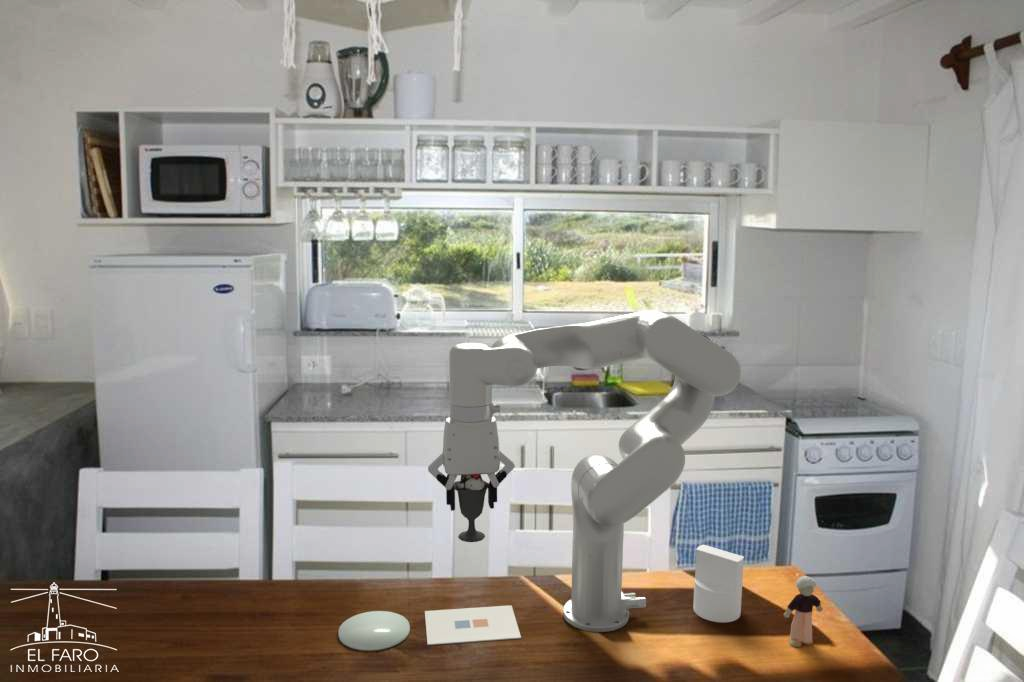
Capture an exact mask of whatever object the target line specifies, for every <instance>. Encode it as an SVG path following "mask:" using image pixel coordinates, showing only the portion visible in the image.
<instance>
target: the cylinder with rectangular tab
mask: <svg viewBox="0 0 1024 682" xmlns="http://www.w3.org/2000/svg"><path fill="white" fill-rule="evenodd" d="M695 551H696V552H695V572H694V573H695V574H694V585H693V586H694V587H693V605H692V606H693V612H694V613H695V614H696V615H697V616H699V617H700V618H701V619H704V620H707V621H709V622H713V623H731V622H735V621H737V620H738V619H739V618H741V611H742V610H741V609H742V595H743V578H744V575H743V574H744V560H745V559H744V558H745V556H743V555H740V554H737V553H733V552H730V551H726V550H723V549H720V548H717V547H714V546H710V545H707V544H701V545H698V547H696V548H695Z"/></svg>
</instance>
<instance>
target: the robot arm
mask: <svg viewBox="0 0 1024 682" xmlns="http://www.w3.org/2000/svg"><path fill="white" fill-rule="evenodd" d="M448 358H449V359H448V360H449V361H448V362H449V416H448V417H446V419H445V423H444V428H443V436H442V437H443V441H442V453H440V455H438V456H437V458H435V459H434V461H432V462H431V463H430V464H429V465H428V467H427V471H428V473H429V474H430V475H431V476H433V478H435V479H436V480H437V481H438V482H439V484H441V486H443V487H444V488H445V490H446V491H445V492H446V493H445V494H446V496H445V499H446V506H449V507H450V511H451V512H452V511H455V510H456V490H455V489H454V486H453V484H454V483H455V482H456V479H457V478H458V476H461V475H474V474H481V475H487V476H488V479H489V482H488V483H489V484H490V487H489V488H488V489H487V502H488V503H487V504H488V507H489V509H490V510H491V509H495V503H498V487H500V484H501V483H502V482H503V481H504V480H505V479H506V478H507V476H508V475H509V474H510V473H511V472H512V471H513V470H514V468H515V467H516V466H515V463H514V462H513V460H511V459H510V458H509V457H508V456H507V455H505V454H504V453H503V452H502V451H501V450H500V441H499V433H498V425H497V424H498V423H497V420H496V417H495V416H493V415H494V414H496V413H500V412H501V406H500V404H496V403H495V404H494V403H493V388H492V387H493V386H502V387H509V388H520V387H523V386H526V385H528V384H529V383H530V382H531V381H533V380H534V378H535V376H536V374H537V373H538V372H537V370H538V369H542V368H549V367H561V366H562V367H571V368H578V369H581V370H582V369H585V370H596V369H601V368H606V367H609V366H615V365H618V364H623V363H628V362H632V361H633V362H635V361H639V360H643V359H647V358H648V359H649V360H651V361H653V362H654V363H656V364H658V366H661V367H662V368H663V369H665V370H666V371H668V372H669V373H671V374H672V375H674V380H673V384H672V387H671V388H670V390H669V392H668V393H667V395H666V396H665V397H664V398H663V399H661V401H659V402H658V404H656V405H655V406H654V407H653V408H652V409H650V410H649V411H648V412H647V413H646V414H644V415H643V416H641V417H640V418H639V419H638V420H636V422H634V423H633V424H631V425H630V426H629V427H628V428H627V429H625V431H624V432H623V433H622V434H621V435H620V438H619V441H618V452H619V454H620V456H621V459H623V460H621V461H620V462H619V463H617V462H616V461H614V460H613V459H611V458H610V457H608V456H606V455H603V454H590V455H588V456H586V457H584V458H582V459H581V460H579V462H578V463H577V464H576V466H575V467H574V469H573V471H572V475H571V482H570V490H571V491H570V492H571V494H570V495H571V504H572V505H571V506H572V552H571V553H572V557H571V559H572V560H571V566H572V567H571V598H570V599H569V600H568V601H566V603H565V604H564V605H563V607H562V615H563V618H564V620H565V621H566V622H567V623H568V624H569V625H571V626H573V627H574V628H577V629H579V630H582V631H586V632H587V631H588V632H593V633H607V632H613V631H617V630H619V629H621V628H623V627H624V626H625V625H626V624H627V623H628V622H629V618H630V612H629V611H630V610H631V609H635V608H636V609H640V608H646V607H647V599H646V597H645V596H639V597H638V596H637V595H636V593H635V592H628V593H624V592H623V591H622V585H623V584H622V583H623V560H624V559H623V556H624V531H625V529H624V524H625V523H627V522H629V521H630V520H632V519H633V518H635V517H636V516H637V515H639V513H641V512H643V510H645V509H646V508H647V507H648V506H650V505H651V504H652V503H654V502H655V501H656V500H657V499H658V498H660V496H662V495H663V494H664V493H665V492H667V491H668V490H669V489H670V488H672V486H673V485H674V484H675V483H677V481H678V480H679V478H680V477H681V475H682V473H683V471H684V468H685V465H686V455H685V451H684V450H685V449H684V448H683V446H682V445H683V444H684V443H685V442H686V441H688V439H690V438H691V437H692V436H693V435H694V434H695V433H696V432H698V431H699V430H700V428H702V426H703V425H704V424H705V423H706V421H707V419H708V418H709V416H710V414H711V412H712V410H713V407H714V402H715V398H716V397H721V396H725V395H728V394H730V393H732V392H733V391H734V390H735V389H736V387H737V386H738V385H739V383H740V380H741V376H742V375H741V374H742V373H741V372H742V370H741V366H740V365H741V364H739V361H738V360H737V359H738V358H736V357H735V355H734V354H732V353H731V352H730V351H728V350H727V349H725V348H724V347H722V346H721V345H719V344H717V343H715V342H714V341H713V340H710V339H709V338H707V337H706V336H705V335H702V334H701V333H700V332H698V331H697V330H695V329H693V328H692V327H690V326H689V325H688V324H686V323H684V322H683V321H681V320H680V319H679V318H677V317H675V316H672V315H670V314H668V313H666V312H664V311H661V310H657V309H647V310H641V311H636V312H631V313H627V314H623V315H617V316H613V317H609V318H603V319H600V320H594V321H593V320H592V321H588V322H583V323H573V324H567V325H561V326H551V327H550V326H549V327H544V328H543V327H542V328H537V329H536V328H535V329H533V330H528V331H523V332H518V333H513V334H510V335H505V336H503V337H501V338H499V339H497V340H496V341H495V342H494V343H493V344H492V345H491V347H490V346H488V345H487V344H485V343H482V342H480V343H479V342H462V343H457V344H455V345H453V346H451V348H450V350H449V357H448ZM501 463H502V464H503V467H502V468H501V469H500V467H501ZM442 465H443V468H444V472H445V474H446V475H445V474H444V473H443V472H441V471H440V470H439V469H440V467H441V466H442Z"/></svg>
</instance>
